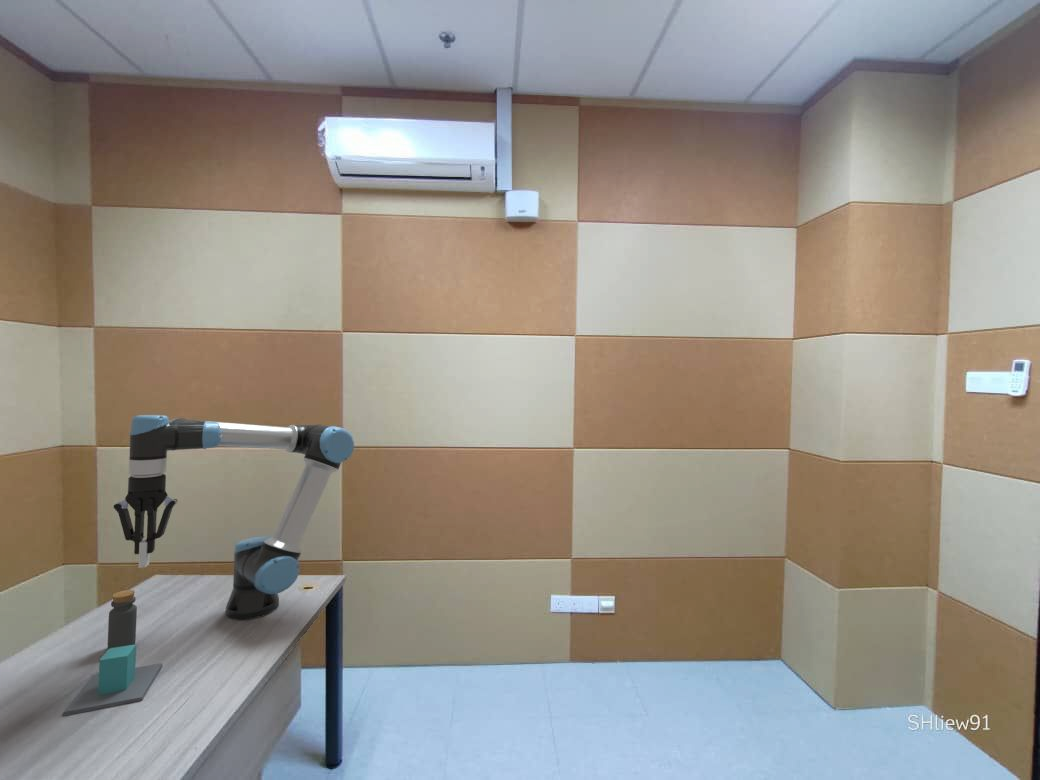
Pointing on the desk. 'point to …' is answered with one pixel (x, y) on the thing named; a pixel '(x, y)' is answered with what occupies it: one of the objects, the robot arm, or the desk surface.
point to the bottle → (122, 620)
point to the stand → (134, 692)
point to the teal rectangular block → (117, 669)
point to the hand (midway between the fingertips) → (144, 565)
